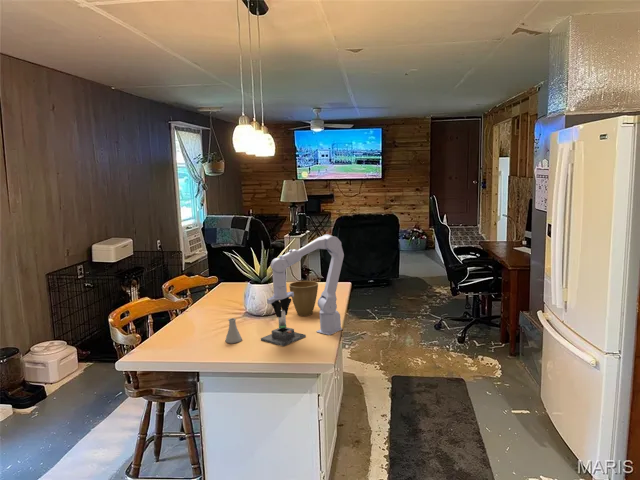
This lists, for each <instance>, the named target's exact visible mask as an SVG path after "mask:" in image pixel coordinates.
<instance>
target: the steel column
mask: <svg viewBox="0 0 640 480" xmlns="http://www.w3.org/2000/svg"><path fill="white" fill-rule="evenodd" d="M286 316H287V315H285V310H284V309H282V308H281V317H280V318H279V317H277V318H278V328H281V329H283V328H286V327H287V321H286V320H287V318H286Z"/></svg>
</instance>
